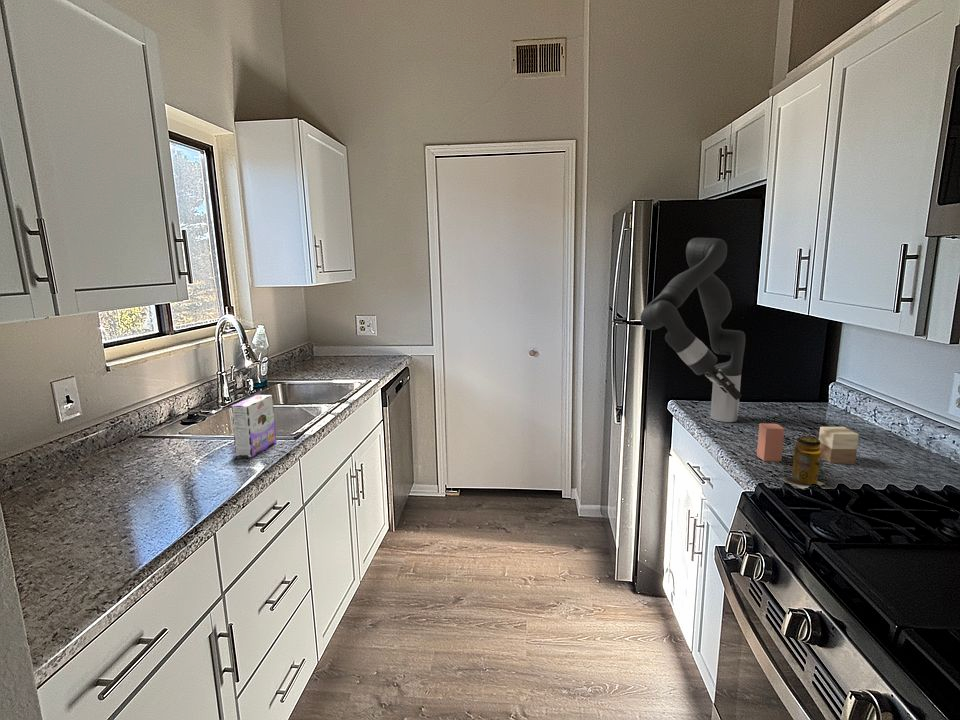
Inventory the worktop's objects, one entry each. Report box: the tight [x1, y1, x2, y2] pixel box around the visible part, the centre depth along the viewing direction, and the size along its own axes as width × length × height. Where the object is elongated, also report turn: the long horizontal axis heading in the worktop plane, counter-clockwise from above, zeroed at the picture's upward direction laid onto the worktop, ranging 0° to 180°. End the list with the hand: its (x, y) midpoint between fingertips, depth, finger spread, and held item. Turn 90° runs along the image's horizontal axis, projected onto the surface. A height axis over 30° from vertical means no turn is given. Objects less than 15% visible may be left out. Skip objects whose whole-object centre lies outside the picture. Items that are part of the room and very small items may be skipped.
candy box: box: [230, 394, 277, 458], centre depth 172 cm, size 14×6×16 cm, turn 168°
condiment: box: [778, 435, 826, 490], centre depth 144 cm, size 7×8×12 cm
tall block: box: [756, 423, 785, 462], centre depth 162 cm, size 5×5×10 cm
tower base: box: [820, 442, 858, 465], centre depth 161 cm, size 7×7×4 cm
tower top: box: [818, 426, 860, 450], centre depth 160 cm, size 7×7×4 cm
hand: (733, 394), depth 160 cm, fingers open, 8 cm apart
